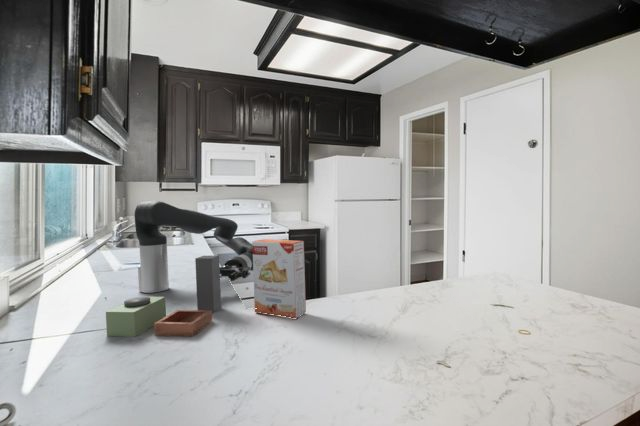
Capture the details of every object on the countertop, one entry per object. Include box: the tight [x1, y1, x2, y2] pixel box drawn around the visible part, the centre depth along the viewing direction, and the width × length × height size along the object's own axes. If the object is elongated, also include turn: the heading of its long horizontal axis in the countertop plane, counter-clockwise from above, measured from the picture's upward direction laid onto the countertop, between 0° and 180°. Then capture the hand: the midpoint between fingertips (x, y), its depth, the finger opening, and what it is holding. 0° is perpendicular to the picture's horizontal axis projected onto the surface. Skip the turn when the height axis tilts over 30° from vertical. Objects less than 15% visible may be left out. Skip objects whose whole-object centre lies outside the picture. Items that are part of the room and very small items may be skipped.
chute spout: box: [194, 255, 222, 314], centre depth 100 cm, size 5×5×16 cm
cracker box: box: [251, 238, 307, 319], centre depth 95 cm, size 14×6×21 cm, turn 62°
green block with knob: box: [105, 296, 167, 338], centre depth 89 cm, size 8×13×7 cm, turn 172°
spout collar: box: [153, 309, 213, 337], centre depth 86 cm, size 10×10×3 cm
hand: (218, 277), depth 107 cm, fingers open, 8 cm apart
